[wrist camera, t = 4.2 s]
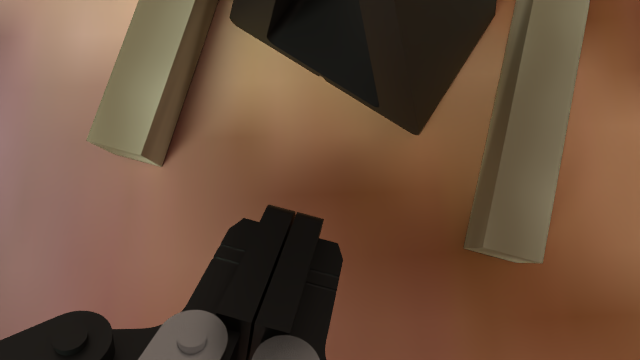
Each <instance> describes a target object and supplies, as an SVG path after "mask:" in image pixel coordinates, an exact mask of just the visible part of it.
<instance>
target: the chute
mask: <svg viewBox="0 0 640 360" xmlns="http://www.w3.org/2000/svg"><path fill="white" fill-rule="evenodd" d="M217 3H218V0H139V1H138V4H137V7H136V9H135V12H134V15H133V17H132V20H131V23H130V25H129V28H128V31H127V33H126V36H125V39H124V41H123V44H122V47H121V49H120V52H119V55H118V57H117V60H116V63H115V65H114V68H113V71H112V73H111V76H110V79H109V81H108V84H107V87H106V89H105V92H104V95H103V97H102V100H101V103H100V105H99V108H98V111H97V113H96V116H95V119H94V121H93V124H92V127H91V129H90V132H89V135H88V137H87V140H86V141H88V142H90V143H92V144H94V145H96V146H98V147H100V148H102V149H104V150H106V151H109V152H111V153H113V154H116V155H119V156H123V157H127V158H130V159H134V160H138V161H141V162H145V163H149V164H153V165H156V166H160V167H162V165H163V162H164V159H165V156H166V153H167V150H168V147H169V144H170V141H171V138H172V135H173V132H174V129H175V126H176V123H177V121H178V118H179V115H180V112H181V109H182V106H183V103H184V100H185V97H186V94H187V91H188V88H189V85H190V82H191V80H192V77H193V74H194V71H195V68H196V65H197V62H198V59H199V56H200V53H201V50H202V47H203V44H204V41H205V38H206V36H207V33H208V30H209V27H210V24H211V21H212V18H213V15H214V12H215V9H216V6H217ZM589 3H590V0H516V3H515V8H514V13H513V17H512V22H511V27H510V32H509V36H508V41H507V46H506V50H505V55H504V60H503V65H502V69H501V74H500V79H499V83H498V88H497V93H496V98H495V102H494V107H493V112H492V116H491V121H490V126H489V131H488V135H487V140H486V145H485V149H484V154H483V159H482V164H481V168H480V173H479V178H478V182H477V187H476V192H475V197H474V201H473V206H472V211H471V215H470V220H469V225H468V230H467V234H466V239H465V244H464V249H467V250H471V251H475V252H478V253H482V254H486V255H489V256H493V257H497V258H501V259H504V260H508V261H512V262H515V263H543V258H544V253H545V247H546V242H547V236H548V231H549V225H550V220H551V214H552V208H553V203H554V197H555V192H556V186H557V181H558V175H559V170H560V164H561V159H562V153H563V147H564V142H565V136H566V131H567V125H568V120H569V114H570V109H571V103H572V97H573V92H574V86H575V81H576V75H577V70H578V64H579V59H580V53H581V48H582V42H583V36H584V31H585V25H586V20H587V14H588V9H589Z"/></svg>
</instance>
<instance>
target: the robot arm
mask: <svg viewBox="0 0 640 360" xmlns="http://www.w3.org/2000/svg"><path fill="white" fill-rule="evenodd" d="M323 220H324V219H321V218H318V217H314V216H310V215H307V214H303V213H299V212H297V214H296V216H295V211H291V210H288V209H284V208H280V207H276V206H273V205H268V206H267V208H266V210H265V212H264V214H263V216H262V218H261V220H260V222H256V221H253V220H249V219H245V218H243V219H242V220H241V221H239V222H238V223H236V224H235V225H234V226H232V227H231V228H230V229H229V230H228V232H227V233H226V235H225V237H224V239H223V241H222V242H221V245H220V247H219V248H218V250H217V251H216V253H215V255H214V258H213V259H212V260H211V262H210V264H209V266H208V268H207V269H206V271H205V273H204V275H203V276H202V278H201V280H200V282H199V284H198V285H197V287H196V289H195V291H194V293H193V294H192V296H191V298H190V300H189V302H188V303H187V305H186V307H185V308H184V309H183V311H182V312H180V313H178V314H176V315H174V316H172V317H171V318H169V319H168V320H167V321H166V322H164V324H162V325H159V326H156V327H152V328H145V329H112V328H111V326H110V323H109V322H108V321H107V320H106V319H105V318H104V317H103V316H101V315H100V314H97V313H94V312H90V311H74V312H69V313H65V314H63V315H60V316H57V317H55V318H53V319H50V320H48V321H45V322H43V323H41V324H38V325H36V326H34V327H31V328H29V329H26V330H24V331H22V332H19V333H17V334H15V335H12V336H10V337H7V338H5V339H3V340H0V360H326V357H325V344H326V339H327V334H328V329H329V325H330V320H331V315H332V310H333V305H334V301H335V296H336V291H337V286H338V281H339V276H340V272H341V267H342V262H343V258H342V255H341V252H340V248H339V245H338V243H334V242H331V241H327V240H323V239H319V236H320V232H321V228H322V224H323Z"/></svg>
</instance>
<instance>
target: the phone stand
mask: <svg viewBox="0 0 640 360" xmlns="http://www.w3.org/2000/svg"><path fill="white" fill-rule="evenodd" d="M495 10H496V0H233V5H232V9H231V13H230V19H231V21H232V22H233V23H234V24H235V25H236V26H237V27H239V28H241V29H242V30H244V31H246V32H247V33H249V34H250V35H252V36H254V37H255V38H257V39H259V40H260V41H262V42H263V43H265V44H267V45H268V46H270V47H272V48H273V49H275V50H276V51H278V52H280V53H281V54H283V55H285V56H286V57H288V58H289V59H291V60H293V61H294V62H296V63H298V64H299V65H301V66H302V67H304V68H306V69H307V70H309V71H311V72H312V73H314V74H316V75H317V76H322V77H323V78H324V79H325V80H326V81H327V82H329V83H330V84H332V85H333V86H335V87H337V88H338V89H340V90H342V91H343V92H345V93H346V94H348V95H350V96H351V97H353V98H355V99H356V100H358V101H359V102H361V103H363V104H364V105H366V106H368V107H369V108H371V109H372V110H374V111H376V112H377V113H379V114H381V115H382V116H384V117H385V118H387V119H389V120H390V121H392V122H394V123H395V124H397V125H399V126H400V127H402V128H403V129H405V130H407V131H408V132H410V133H412V134H414V135H419V134H420V132H421V131H422V129H423V127H424V126H425V124H426V123H427V121H428V120H429V118H430V116H431V115H432V113H433V112H434V110H435V108H436V107H437V105H438V104H439V102H440V101H441V99H442V97H443V96H444V94H445V93H446V91H447V90H448V88H449V86H450V85H451V83H452V82H453V80H454V79H455V77H456V75H457V74H458V72H459V71H460V69H461V68H462V66H463V64H464V63H465V61H466V60H467V58H468V56H469V55H470V53H471V52H472V50H473V49H474V47H475V45H476V44H477V42H478V41H479V39H480V38H481V36H482V34H483V33H484V31H485V30H486V28H487V27H488V25H489V23H490V22H491V20H492V19H493V17H494V16H495Z"/></svg>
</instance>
